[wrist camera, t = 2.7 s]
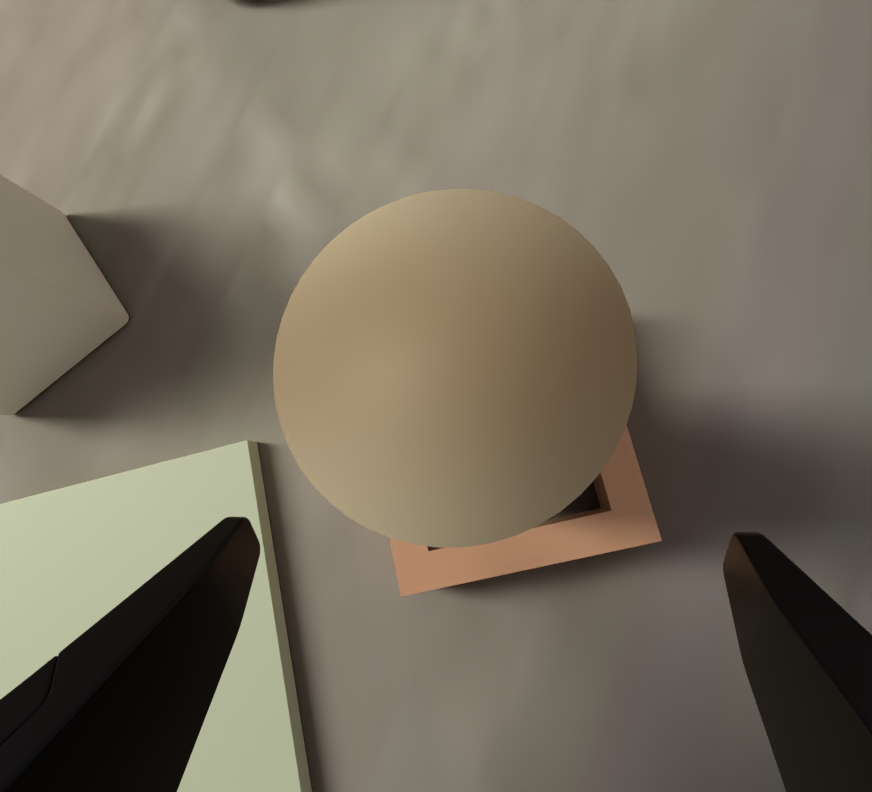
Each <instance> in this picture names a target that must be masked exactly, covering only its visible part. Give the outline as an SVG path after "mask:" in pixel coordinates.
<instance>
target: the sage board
mask: <svg viewBox="0 0 872 792" xmlns="http://www.w3.org/2000/svg"><path fill="white" fill-rule="evenodd" d="M231 516H232V517H246V518H248V519H249V520H250V522H251V524H252V527H253V529H254V531H255V533H256V536H257V538H258V540H259V543H260V556H259V560H258V564H257V568H256V571H255V575H254V579H253V582H252V586H251V590H250V593H249V597H248V601H247V604H246V608H245V612H244V615H243V619H242V622H241V625H240V629H239V631H238V634H237V637H236V640H235V642H234V645H233V647H232V650H231V653H230V655H229V658H228V660H227V663H226V666H225V668H224V671H223V673H222V676H221V679H220V681H219V684H218V686H217V689H216V692H215V694H214V697H213V699H212V702H211V705H210V707H209V710H208V712H207V715H206V717H205V720H204V723H203V725H202V728H201V730H200V733H199V736H198V738H197V741H196V743H195V746H194V749H193V751H192V754H191V756H190V759H189V762H188V764H187V767H186V769H185V772H184V775H183V777H182V780H181V782H180V785H179V788H178V790H177V792H312V789H311V782H310V776H309V770H308V763H307V757H306V750H305V744H304V738H303V731H302V725H301V719H300V712H299V706H298V699H297V693H296V687H295V680H294V674H293V668H292V661H291V655H290V649H289V642H288V636H287V629H286V623H285V617H284V610H283V604H282V598H281V591H280V585H279V578H278V572H277V566H276V559H275V553H274V547H273V540H272V534H271V528H270V521H269V515H268V508H267V502H266V496H265V489H264V483H263V477H262V470H261V464H260V457H259V451H258V445H257V442H254V441H248V440H246V441H242V442H239V443H235V444H231V445H227V446H223V447H219V448H215V449H211V450H208V451H204V452H200V453H196V454H192V455H188V456H184V457H181V458H177V459H173V460H169V461H165V462H161V463H157V464H154V465H150V466H146V467H142V468H138V469H134V470H130V471H126V472H123V473H119V474H115V475H111V476H107V477H103V478H99V479H96V480H92V481H88V482H84V483H80V484H76V485H72V486H69V487H65V488H61V489H57V490H53V491H49V492H45V493H41V494H38V495H34V496H30V497H26V498H22V499H18V500H14V501H11V502H7V503H3V504H0V699H1V698H3V697H4V696H5V695H7V694H8V693H9V692H10V691H12V690H13V689H14V688H15V687H17V686H18V685H19V684H21V683H22V682H23V681H24V680H26V679H27V678H28V677H29V676H31V675H32V674H33V673H34V672H36V671H37V670H38V669H39V668H41V667H42V666H43V665H44V664H46V663H47V662H48V661H49V660H50V659H52V658H53V657H54V656H58V654H59V653H60V652H61V651H62V650H63V649H64V648H65V647H67V646H68V645H69V644H70V643H72V642H73V641H74V640H75V639H77V638H78V637H79V636H80V635H81V634H83V633H84V632H85V631H86V630H88V629H89V628H90V627H91V626H93V625H94V624H95V623H96V622H97V621H99V620H100V619H101V618H102V617H104V616H105V615H106V614H107V613H108V612H110V611H111V610H112V609H113V608H115V607H116V606H117V605H118V604H120V603H121V602H122V601H123V600H124V599H126V598H127V597H128V596H129V595H131V594H132V593H133V592H134V591H136V590H137V589H138V588H139V587H140V586H142V585H143V584H144V583H145V582H147V581H148V580H149V579H150V578H152V577H153V576H154V575H155V574H156V573H158V572H159V571H160V570H161V569H163V568H164V567H165V566H166V565H168V564H169V563H170V562H171V561H172V560H174V559H175V558H176V557H177V556H179V555H180V554H181V553H182V552H184V551H185V550H186V549H187V548H188V547H190V546H191V545H192V544H193V543H195V542H196V541H197V540H198V539H200V538H201V537H202V536H203V535H204V534H206V533H207V532H208V531H209V530H211V529H212V528H213V527H214V526H216V525H217V524H218V523H219V522H220V521H222V520H223V519H225V518H226V517H231Z"/></svg>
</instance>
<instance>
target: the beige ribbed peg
mask: <svg viewBox="0 0 872 792" xmlns="http://www.w3.org/2000/svg"><path fill="white" fill-rule="evenodd" d="M637 367H638V353H637V343H636V333H635V329H634V325H633V320H632V316H631V312H630V308H629V306H628V303H627V301H626V298H625V296H624V293H623V291H622V288H621V286H620V284H619V283H618V281H617V279H616V277H615V276H614V274H613V272H612V270H611V269H610V267H609V265H608V264H607V263H606V262H605V260H604V259H603V258H602V256H601V255H600V254H599V252H598V251H597V250H596V249H595V247H594V246H593V245H592V244H591V243H590V242H589V241H588V240H587V239H585V238H584V237H583V236H582V235H581V234H580V233H579V232H578V231H577V230H576V229H574V228H573V227H572V226H570V225H569V224H568V223H566V222H565V221H564V220H562V219H561V218H560V217H558V216H556V215H555V214H553V213H551V212H549V211H547V210H546V209H544V208H542V207H540V206H538V205H536V204H533V203H530V202H528V201H525V200H523V199H520V198H518V197H514V196H510V195H506V194H502V193H498V192H493V191H485V190H477V189H446V190H438V191H429V192H425V193H421V194H417V195H412V196H408V197H405V198H402V199H400V200H397V201H394V202H392V203H389V204H386V205H384V206H382V207H380V208H378V209H376V210H374V211H372V212H370V213H368V214H366V215H365V216H363V217H362V218H360V219H359V220H357V221H356V222H354V223H353V224H351V225H350V226H348V227H347V228H346V229H345V230H343V231H342V232H341V233H340V234H339V235H338V236H336V237H335V238H334V239H333V240H332V241H331V242H330V243H329V244H328V245H327V246H326V247H325V248H324V249H323V250H322V251H321V252H320V253H319V254H318V255H317V257H316V258H315V259H314V260H313V262H312V263H311V264H310V266H309V267H308V268H307V270H306V271H305V273H304V274H303V275H302V277H301V279H300V281H299V282H298V284H297V286H296V288H295V289H294V291H293V293H292V295H291V297H290V299H289V302H288V304H287V307H286V309H285V311H284V314H283V317H282V320H281V324H280V327H279V331H278V334H277V339H276V346H275V352H274V359H273V386H274V396H275V404H276V409H277V413H278V417H279V422H280V426H281V428H282V431H283V433H284V436H285V439H286V441H287V444H288V447H289V448H290V450H291V452H292V454H293V456H294V458H295V460H296V461H297V463H298V465H299V467H300V468H301V470H302V471H303V472H304V474H305V475H306V477H307V478H308V479H309V481H310V482H311V483H312V485H313V486H314V487H315V488H316V489H317V490H318V491H319V492H320V493H321V494H322V495H323V496H324V497H325V498H326V499H327V501H328V502H330V503H331V504H332V505H333V506H335V507H336V508H337V509H338V510H340V511H341V512H342V513H343V514H345V515H346V516H347V517H349V518H351V519H352V520H354V521H356V522H357V523H359V524H361V525H362V526H364V527H366V528H367V529H370V530H372V531H374V532H377V533H379V534H382V535H384V536H386V537H389V538H391V539H395V540H399V541H403V542H406V543H410V544H414V545H422V546H430V547H438V548H449V547H470V546H476V545H483V544H489V543H493V542H496V541H500V540H503V539H507V538H510V537H513V536H516V535H518V534H520V533H523V532H525V531H527V530H529V529H532V528H534V527H536V526H538V525H540V524H541V523H543V522H545V521H546V520H548V519H549V518H551V517H553V516H554V515H556V514H557V513H559V512H561V511H562V510H563V509H564V508H565V507H567V506H568V505H569V504H570V503H571V502H573V501H574V500H575V499H576V498H577V497H579V496H580V495H581V494H582V493H583V492H584V490H585V489H586V488H587V487H588V486H589V485H590V484H591V483H592V482H593V481H594V479H595V478H596V477H597V476H598V475H599V473H600V472H601V471H602V469H603V468H604V466H605V465H606V463H607V462H608V460H609V459H610V457H611V456H612V454H613V453H614V451H615V449H616V447H617V445H618V443H619V441H620V438H621V436H622V434H623V432H624V430H625V427H626V424H627V421H628V418H629V415H630V412H631V409H632V406H633V400H634V395H635V389H636V384H637Z"/></svg>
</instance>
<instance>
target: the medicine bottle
mask: <svg viewBox="0 0 872 792" xmlns="http://www.w3.org/2000/svg"><path fill="white" fill-rule="evenodd" d="M128 319H129V316H128V314H127V312H126V310H125V309H124V307H123V306H122V304H121V302H120V301H119V299H118V298H117V296H116V295H115V293H114V291H113V290H112V288H111V287H110V285H109V284H108V282H107V280H106V279H105V277H104V276H103V274H102V273H101V271H100V269H99V268H98V266H97V265H96V263H95V262H94V260H93V258H92V257H91V255H90V254H89V252H88V251H87V249H86V247H85V246H84V244H83V243H82V241H81V240H80V238H79V236H78V235H77V233H76V232H75V230H74V229H73V227H72V225H71V224H70V222H69V221H68V219H67V217H66V216H65V215H64V214H63V213H62V212H61V211H60V210H58V209H57V208H55V207H53V206H52V205H50V204H48V203H47V202H45V201H43V200H42V199H40V198H38V197H37V196H35V195H33V194H31V193H30V192H28V191H26V190H25V189H23V188H21V187H20V186H18V185H16V184H15V183H13V182H11V181H10V180H8V179H6V178H5V177H3V176H1V175H0V415H13V414H15V413H16V412H17V411H19V410H20V409H21V408H22V407H24V406H25V405H26V404H27V403H29V402H30V401H31V400H32V399H34V398H35V397H36V396H37V395H39V394H40V393H41V392H42V391H43V390H45V389H46V388H47V387H48V386H50V385H51V384H52V383H53V382H55V381H56V380H57V379H58V378H60V377H61V376H62V375H63V374H65V373H66V372H67V371H68V370H69V369H71V368H72V367H73V366H74V365H76V364H77V363H78V362H79V361H81V360H82V359H83V358H84V357H86V356H87V355H88V354H89V353H91V352H92V351H93V350H94V349H95V348H97V347H98V346H99V345H100V344H102V343H103V342H104V341H105V340H107V339H108V338H109V337H110V336H112V335H113V334H114V333H115V332H117V331H118V330H119V329H120V328H121V327H123V326H124V325H125V324H126V323H127V322H128Z"/></svg>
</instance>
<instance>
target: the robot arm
mask: <svg viewBox="0 0 872 792" xmlns="http://www.w3.org/2000/svg"><path fill="white" fill-rule="evenodd" d="M259 556H260V543H259V540H258V538H257V536H256V533H255V531H254V529H253V527H252V524H251V522H250V520H249V519H248V518H246V517H232V516H231V517H226V518H225V519H223V520H222V521H220V522H219V523H218V524H217V525H216V526H214V527H213V528H212V529H211V530H209V531H208V532H207V533H206V534H204V535H203V536H202V537H201V538H200V539H198V540H197V541H196V542H195V543H193V544H192V545H191V546H190V547H188V548H187V549H186V550H185V551H184V552H182V553H181V554H180V555H179V556H177V557H176V558H175V559H174V560H172V561H171V562H170V563H169V564H168V565H166V566H165V567H164V568H163V569H161V570H160V571H159V572H158V573H156V574H155V575H154V576H153V577H152V578H150V579H149V580H148V581H147V582H145V583H144V584H143V585H142V586H140V587H139V588H138V589H137V590H136V591H134V592H133V593H132V594H131V595H129V596H128V597H127V598H126V599H124V600H123V601H122V602H121V603H120V604H118V605H117V606H116V607H115V608H113V609H112V610H111V611H110V612H108V613H107V614H106V615H105V616H104V617H102V618H101V619H100V620H99V621H97V622H96V623H95V624H94V625H93V626H91V627H90V628H89V629H88V630H86V631H85V632H84V633H83V634H81V635H80V636H79V637H78V638H77V639H75V640H74V641H73V642H72V643H70V644H69V645H68V646H67V647H65V648H64V649H63V650H62V651H61V652H60V653H59V654H58V656H54V657H53V658H52V659H50V660H49V661H48V662H47V663H46V664H44V665H43V666H42V667H41V668H39V669H38V670H37V671H36V672H34V673H33V674H32V675H31V676H29V677H28V678H27V679H26V680H24V681H23V682H22V683H21V684H19V685H18V686H17V687H15V688H14V689H13V690H12V691H10V692H9V693H8V694H7V695H5V696H4V697H3V698H1V699H0V792H177V790H178V788H179V785H180V782H181V780H182V777H183V775H184V772H185V769H186V767H187V764H188V762H189V759H190V756H191V754H192V751H193V749H194V746H195V743H196V741H197V738H198V736H199V733H200V730H201V728H202V725H203V723H204V720H205V717H206V715H207V712H208V710H209V707H210V705H211V702H212V699H213V697H214V694H215V692H216V689H217V686H218V684H219V681H220V679H221V676H222V673H223V671H224V668H225V666H226V663H227V660H228V658H229V655H230V653H231V650H232V647H233V645H234V642H235V640H236V637H237V634H238V631H239V629H240V625H241V622H242V619H243V615H244V612H245V608H246V604H247V601H248V597H249V593H250V590H251V586H252V582H253V579H254V575H255V571H256V568H257V564H258V560H259ZM723 572H724V578H725V583H726V587H727V592H728V597H729V601H730V606H731V610H732V615H733V620H734V624H735V629H736V634H737V638H738V643H739V648H740V652H741V656H742V660H743V664H744V667H745V670H746V673H747V677H748V680H749V683H750V685H751V688H752V691H753V694H754V697H755V700H756V703H757V706H758V709H759V712H760V715H761V718H762V721H763V724H764V727H765V730H766V733H767V736H768V739H769V742H770V745H771V748H772V751H773V754H774V757H775V760H776V763H777V766H778V769H779V771H780V774H781V777H782V780H783V783H784V786H785V789H786V792H872V635H871V634H870V633H869V632H868V631H867V630H866V629H865V628H863V627H862V626H861V625H860V624H859V623H858V622H857V621H856V620H855V619H854V618H853V617H852V616H850V615H849V614H848V613H847V612H846V611H845V610H844V609H843V608H842V607H841V606H840V605H839V604H838V603H836V602H835V601H834V600H833V599H832V598H831V597H830V596H829V595H828V594H827V593H826V592H825V591H824V590H822V589H821V588H820V587H819V586H818V585H817V584H816V583H815V582H814V581H813V580H812V579H811V578H809V577H808V576H807V575H806V574H805V573H804V572H803V571H802V570H801V569H800V568H799V567H798V566H797V565H795V564H794V563H793V562H792V561H791V560H790V559H789V558H788V557H787V556H786V555H785V554H784V553H783V552H781V551H780V550H779V549H778V548H777V547H776V546H775V545H774V544H773V543H772V542H771V541H770V540H769V539H767V538H766V537H765V536H764V535H762V534H760V533H756V532H736V533H734V534H733V536H732V538H731V541H730V544H729V547H728V550H727V553H726V556H725V559H724V563H723Z"/></svg>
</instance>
